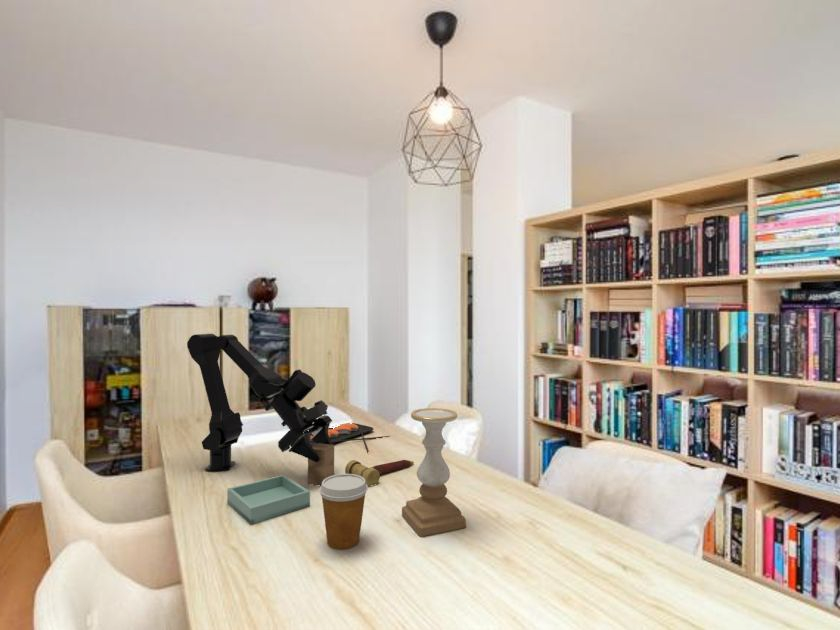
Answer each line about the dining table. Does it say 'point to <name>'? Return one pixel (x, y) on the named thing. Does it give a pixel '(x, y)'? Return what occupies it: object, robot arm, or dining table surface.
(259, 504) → the box
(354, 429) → the sushi plate
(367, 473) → the gavel
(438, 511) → the candle holder
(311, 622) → the dining table surface
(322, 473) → the walnut block
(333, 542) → the disposable coffee cup
